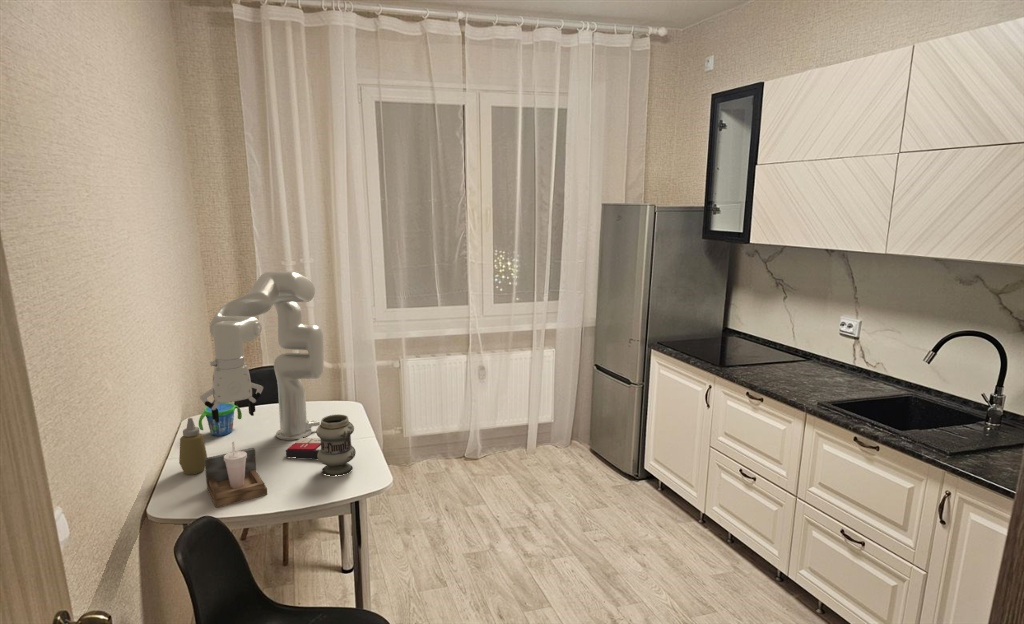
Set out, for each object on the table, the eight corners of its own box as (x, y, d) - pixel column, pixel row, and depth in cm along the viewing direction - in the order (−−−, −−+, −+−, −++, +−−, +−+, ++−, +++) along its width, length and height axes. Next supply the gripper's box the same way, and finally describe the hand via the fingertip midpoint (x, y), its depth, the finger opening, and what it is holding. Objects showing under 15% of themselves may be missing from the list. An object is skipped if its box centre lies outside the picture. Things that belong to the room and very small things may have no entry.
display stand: (255, 477, 186) (253, 447, 184) (267, 494, 175) (265, 462, 173) (206, 489, 177) (204, 458, 176) (216, 507, 166) (213, 475, 165)
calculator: (299, 436, 211) (339, 437, 209) (301, 448, 212) (340, 448, 210) (284, 448, 200) (326, 449, 198) (286, 460, 201) (327, 461, 199)
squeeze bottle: (187, 466, 193) (182, 414, 190) (212, 465, 194) (208, 414, 191) (175, 477, 185) (170, 423, 182) (201, 476, 186) (197, 422, 183)
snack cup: (205, 442, 213) (203, 415, 211) (194, 434, 220) (192, 409, 218) (248, 431, 224) (246, 405, 222) (236, 424, 231) (235, 399, 229)
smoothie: (220, 488, 173) (217, 444, 171) (235, 479, 180) (232, 436, 177) (239, 491, 172) (236, 446, 170) (253, 481, 178) (250, 438, 176)
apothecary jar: (317, 465, 195) (314, 414, 192) (354, 460, 199) (352, 410, 196) (319, 480, 184) (316, 426, 181) (358, 475, 188) (356, 422, 185)
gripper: (199, 370, 163) (204, 428, 167) (264, 361, 174) (267, 415, 177) (195, 364, 169) (200, 420, 172) (257, 355, 180) (261, 408, 183)
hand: (234, 417), depth 175 cm, fingers open, 9 cm apart
